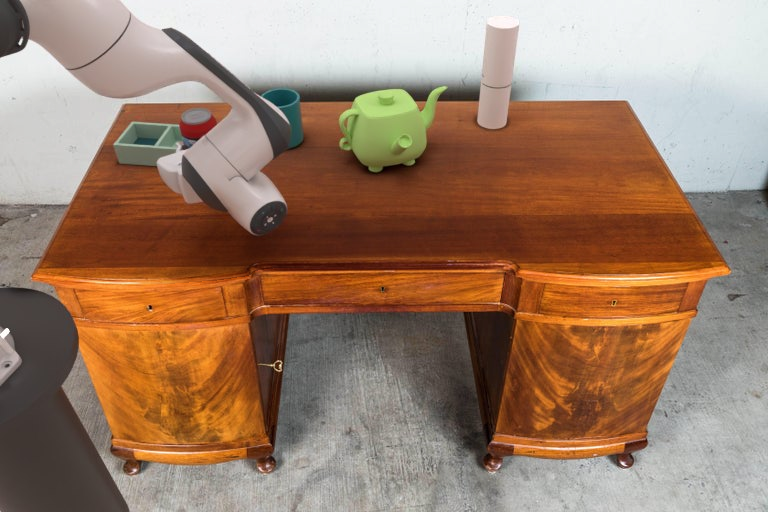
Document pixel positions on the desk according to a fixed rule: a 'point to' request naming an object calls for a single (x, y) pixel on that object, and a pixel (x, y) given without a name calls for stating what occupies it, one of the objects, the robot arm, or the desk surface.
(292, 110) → the cup
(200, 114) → the beverage can
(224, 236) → the desk surface
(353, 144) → the teapot
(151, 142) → the divided storage tray
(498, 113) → the cylindrical container
